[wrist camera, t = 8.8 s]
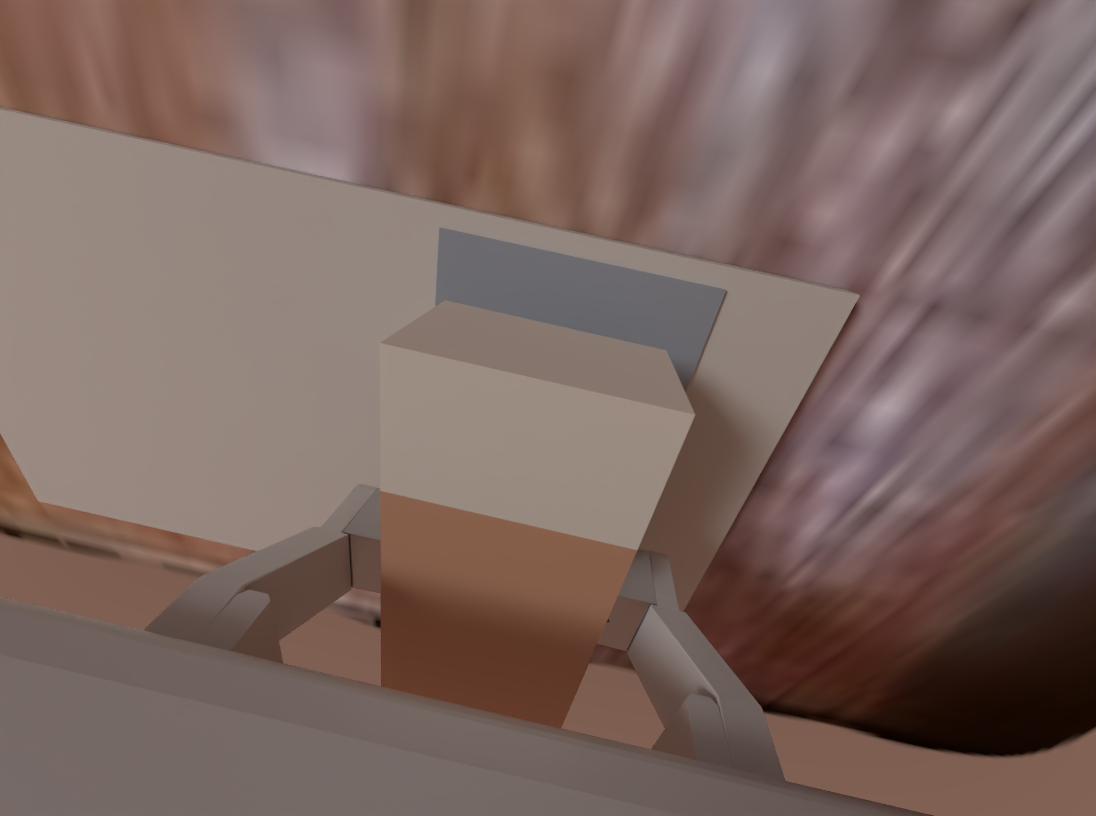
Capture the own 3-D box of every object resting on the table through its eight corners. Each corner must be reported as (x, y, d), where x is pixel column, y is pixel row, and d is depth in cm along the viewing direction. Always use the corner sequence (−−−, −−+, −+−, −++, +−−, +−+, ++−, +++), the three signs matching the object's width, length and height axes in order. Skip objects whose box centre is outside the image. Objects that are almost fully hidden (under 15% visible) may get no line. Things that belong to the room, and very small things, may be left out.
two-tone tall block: (561, 643, 14) (553, 747, 11) (422, 610, 14) (381, 706, 11) (666, 350, 9) (695, 415, 6) (445, 300, 9) (379, 342, 6)
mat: (-165, 71, 10) (-213, 63, 10) (846, 290, 10) (862, 296, 9) (55, 491, 17) (35, 502, 16) (662, 630, 17) (665, 646, 16)
